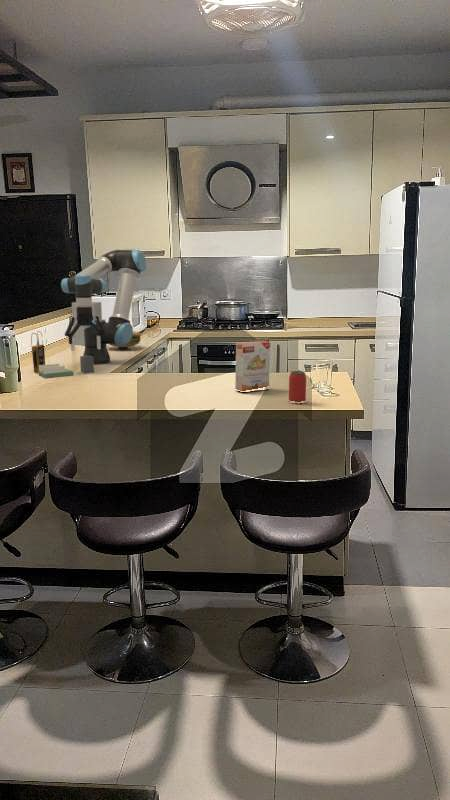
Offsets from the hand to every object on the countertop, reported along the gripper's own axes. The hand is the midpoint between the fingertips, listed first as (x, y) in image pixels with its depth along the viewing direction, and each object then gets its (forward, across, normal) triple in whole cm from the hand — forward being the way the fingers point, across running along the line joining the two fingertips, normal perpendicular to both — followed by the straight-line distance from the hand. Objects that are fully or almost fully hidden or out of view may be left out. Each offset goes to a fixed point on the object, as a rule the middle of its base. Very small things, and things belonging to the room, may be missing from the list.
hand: (86, 349), depth 305 cm
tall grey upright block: (+10, -42, -101) cm, 110 cm away
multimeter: (+12, +16, -14) cm, 24 cm away
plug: (+11, 0, 0) cm, 11 cm away
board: (+12, +16, 0) cm, 19 cm away
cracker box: (+12, -42, +83) cm, 94 cm away
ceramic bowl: (+10, -51, -69) cm, 86 cm away
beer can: (+12, -42, +111) cm, 120 cm away
